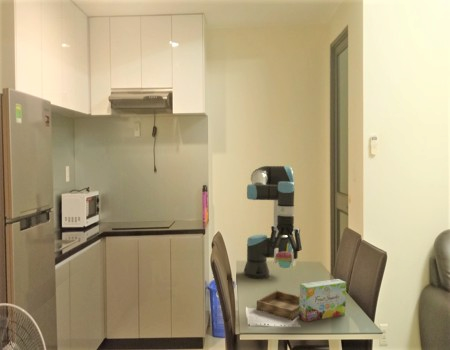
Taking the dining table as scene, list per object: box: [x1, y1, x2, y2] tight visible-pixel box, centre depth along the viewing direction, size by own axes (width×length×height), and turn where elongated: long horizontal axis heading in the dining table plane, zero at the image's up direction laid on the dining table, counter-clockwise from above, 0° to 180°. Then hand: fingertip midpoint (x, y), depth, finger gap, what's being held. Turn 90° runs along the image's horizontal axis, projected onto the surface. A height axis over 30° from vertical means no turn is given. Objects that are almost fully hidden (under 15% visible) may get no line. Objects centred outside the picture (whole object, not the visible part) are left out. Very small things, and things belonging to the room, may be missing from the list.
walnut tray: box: [256, 290, 300, 321], centre depth 173 cm, size 18×18×4 cm
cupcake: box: [275, 242, 292, 269], centre depth 174 cm, size 9×8×12 cm
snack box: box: [298, 278, 347, 323], centre depth 164 cm, size 21×6×15 cm, turn 114°
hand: (284, 263), depth 174 cm, fingers closed on cupcake, 8 cm apart
